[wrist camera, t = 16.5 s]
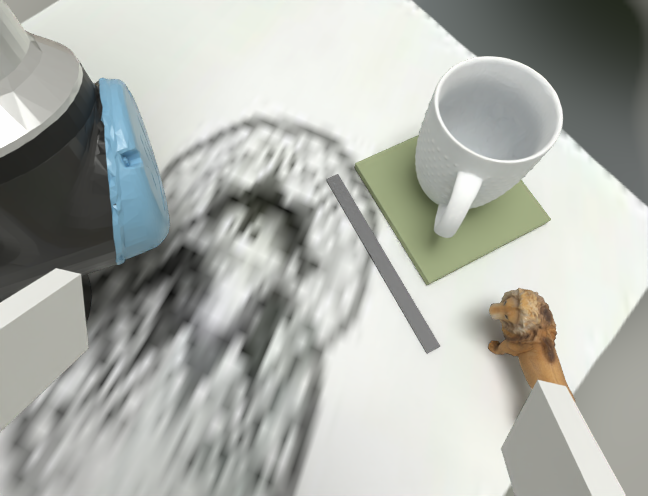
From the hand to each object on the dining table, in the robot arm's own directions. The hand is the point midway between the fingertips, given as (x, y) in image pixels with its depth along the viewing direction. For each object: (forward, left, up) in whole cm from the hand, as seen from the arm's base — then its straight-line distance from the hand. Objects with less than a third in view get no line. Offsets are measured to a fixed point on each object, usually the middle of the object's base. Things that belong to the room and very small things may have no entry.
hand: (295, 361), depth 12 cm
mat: (-11, +24, -30) cm, 39 cm away
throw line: (-8, +13, -30) cm, 33 cm away
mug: (-11, +23, -29) cm, 39 cm away
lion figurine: (+8, +18, -30) cm, 36 cm away
